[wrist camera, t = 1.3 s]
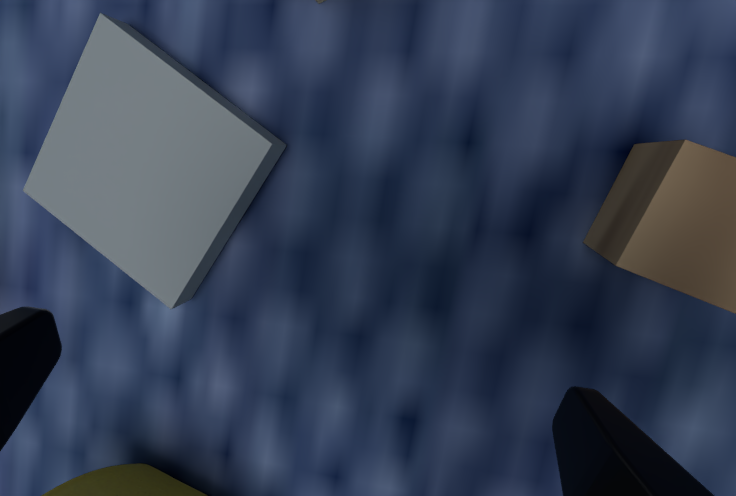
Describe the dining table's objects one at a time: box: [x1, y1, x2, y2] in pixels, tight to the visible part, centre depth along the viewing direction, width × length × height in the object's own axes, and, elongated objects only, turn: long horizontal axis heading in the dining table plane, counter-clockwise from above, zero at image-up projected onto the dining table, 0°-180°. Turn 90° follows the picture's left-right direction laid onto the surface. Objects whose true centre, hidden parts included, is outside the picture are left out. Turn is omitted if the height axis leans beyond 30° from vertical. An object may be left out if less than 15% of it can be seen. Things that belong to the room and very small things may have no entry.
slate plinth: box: [23, 13, 287, 309], centre depth 20 cm, size 9×9×2 cm
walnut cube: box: [583, 140, 736, 314], centre depth 15 cm, size 4×4×4 cm
